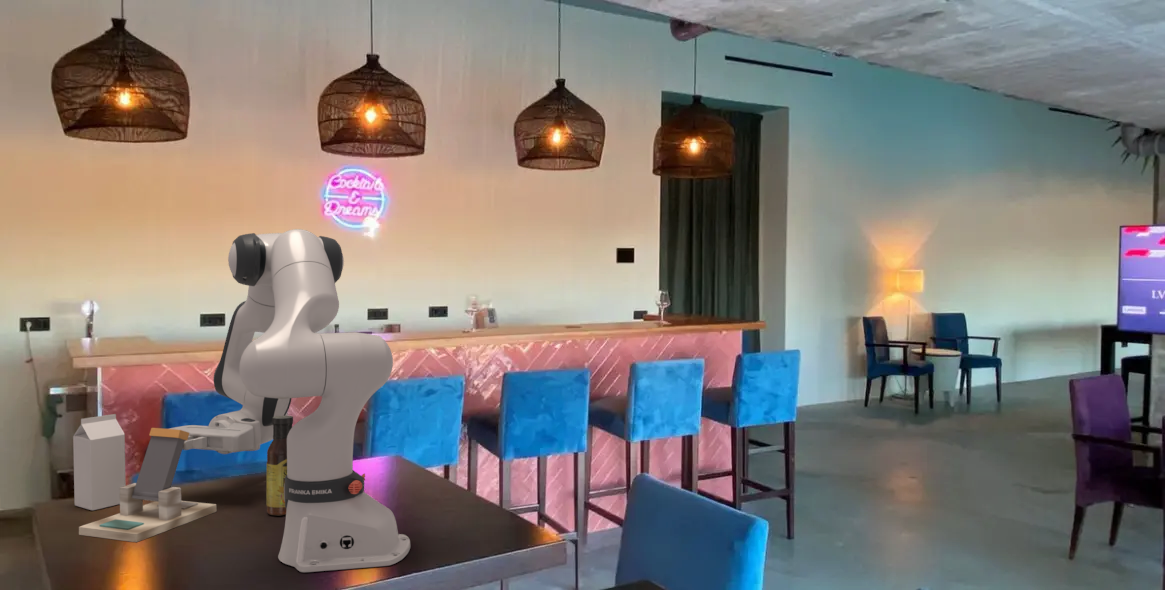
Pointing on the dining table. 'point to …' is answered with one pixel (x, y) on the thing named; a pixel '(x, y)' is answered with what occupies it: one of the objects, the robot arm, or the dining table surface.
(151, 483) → the rocker lever
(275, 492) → the sauce bottle
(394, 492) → the dining table surface
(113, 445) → the milk carton
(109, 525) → the switch base
